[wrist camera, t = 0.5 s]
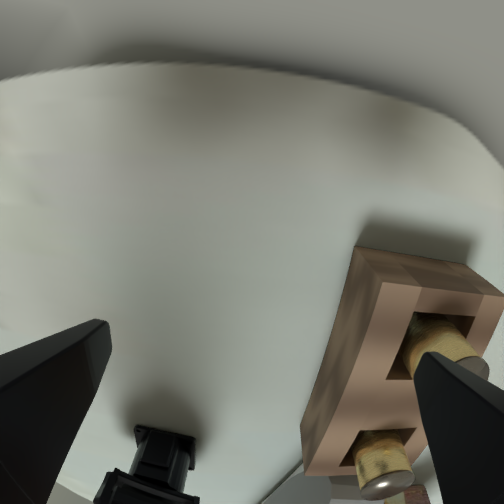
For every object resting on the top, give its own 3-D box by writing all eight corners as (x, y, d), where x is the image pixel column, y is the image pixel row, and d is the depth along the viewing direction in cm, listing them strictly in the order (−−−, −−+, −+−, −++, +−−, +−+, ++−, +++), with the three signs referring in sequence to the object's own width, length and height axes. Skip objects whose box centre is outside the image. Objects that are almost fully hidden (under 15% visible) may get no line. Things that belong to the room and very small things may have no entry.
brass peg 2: (432, 357, 20) (467, 413, 14) (385, 356, 20) (414, 418, 14) (454, 307, 18) (500, 357, 13) (405, 302, 18) (446, 359, 13)
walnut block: (392, 426, 27) (407, 469, 22) (299, 425, 27) (304, 475, 22) (465, 264, 21) (508, 297, 16) (354, 246, 21) (382, 281, 16)
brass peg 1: (384, 444, 23) (399, 497, 17) (341, 445, 23) (352, 502, 17) (403, 414, 22) (424, 469, 16) (358, 415, 22) (374, 476, 16)
